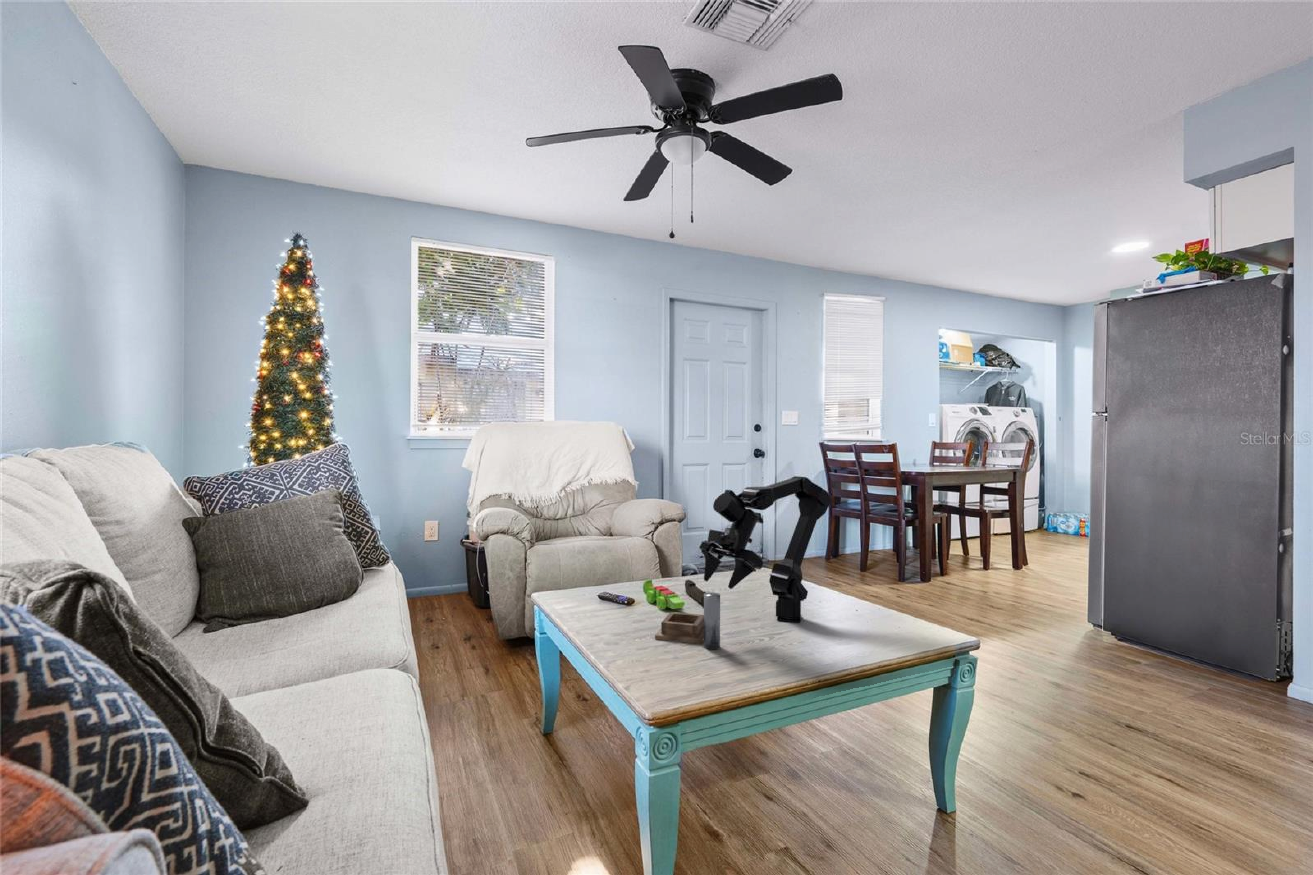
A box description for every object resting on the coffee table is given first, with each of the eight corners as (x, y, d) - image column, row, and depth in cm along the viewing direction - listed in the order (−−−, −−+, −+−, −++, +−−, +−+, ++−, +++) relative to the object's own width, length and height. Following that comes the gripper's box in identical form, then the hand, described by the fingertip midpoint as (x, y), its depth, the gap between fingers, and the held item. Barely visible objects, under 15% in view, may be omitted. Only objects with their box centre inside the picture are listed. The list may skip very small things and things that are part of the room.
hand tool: (714, 607, 182) (714, 592, 182) (701, 608, 181) (701, 593, 181) (693, 591, 200) (694, 578, 200) (682, 592, 199) (682, 578, 199)
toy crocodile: (688, 612, 176) (688, 592, 176) (668, 615, 173) (668, 594, 173) (658, 596, 194) (658, 577, 194) (639, 598, 191) (639, 579, 191)
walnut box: (710, 628, 161) (710, 613, 161) (701, 643, 150) (701, 627, 150) (667, 624, 165) (667, 610, 165) (655, 639, 153) (655, 623, 153)
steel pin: (721, 645, 149) (721, 593, 149) (718, 650, 145) (718, 597, 145) (705, 643, 150) (705, 591, 150) (702, 649, 146) (702, 596, 146)
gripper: (698, 511, 162) (674, 564, 157) (748, 520, 147) (722, 578, 142) (724, 531, 167) (701, 582, 163) (774, 540, 152) (750, 597, 148)
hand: (717, 584), depth 153 cm, fingers open, 9 cm apart
